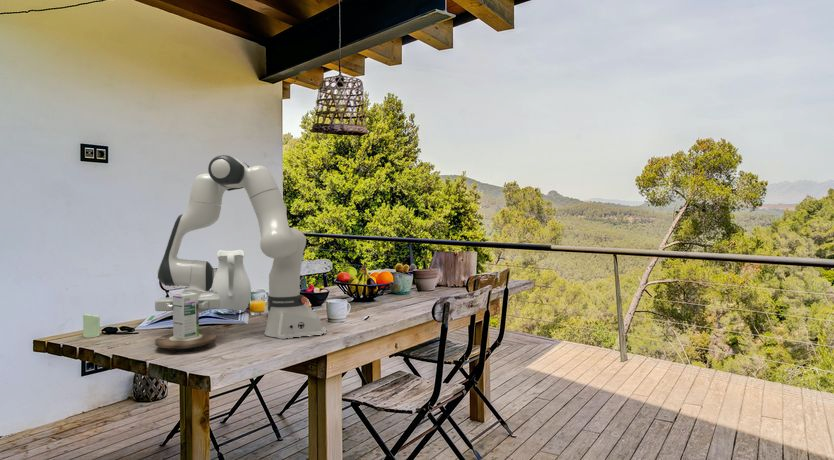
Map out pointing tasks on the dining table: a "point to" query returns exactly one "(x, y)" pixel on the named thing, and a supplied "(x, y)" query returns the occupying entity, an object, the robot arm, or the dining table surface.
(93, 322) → the candle
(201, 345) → the turntable base
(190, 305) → the syrup box
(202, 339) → the brown plate
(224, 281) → the pitcher
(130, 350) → the dining table surface
